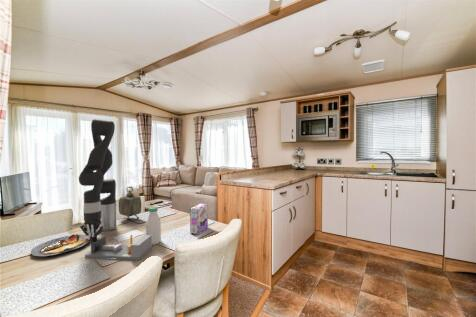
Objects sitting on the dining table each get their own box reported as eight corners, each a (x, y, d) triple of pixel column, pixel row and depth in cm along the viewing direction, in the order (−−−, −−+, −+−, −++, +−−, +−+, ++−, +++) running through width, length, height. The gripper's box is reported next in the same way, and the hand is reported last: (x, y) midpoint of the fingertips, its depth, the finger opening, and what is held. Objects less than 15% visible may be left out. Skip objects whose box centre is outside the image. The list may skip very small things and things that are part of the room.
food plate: (84, 234, 132) (83, 228, 131) (97, 245, 117) (96, 239, 117) (28, 250, 112) (27, 243, 112) (35, 265, 98) (34, 258, 97)
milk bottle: (163, 240, 123) (163, 206, 122) (154, 246, 116) (154, 210, 115) (153, 238, 126) (152, 205, 125) (143, 244, 118) (142, 209, 118)
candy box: (198, 235, 131) (197, 209, 130) (189, 233, 133) (189, 208, 132) (208, 227, 144) (208, 203, 144) (200, 226, 146) (200, 202, 145)
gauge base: (85, 257, 104) (84, 242, 103) (103, 246, 115) (102, 233, 115) (138, 260, 101) (138, 245, 100) (151, 249, 113) (151, 235, 112)
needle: (127, 252, 105) (127, 236, 105) (133, 248, 110) (133, 232, 110) (129, 252, 105) (129, 236, 104) (135, 248, 110) (135, 233, 109)
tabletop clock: (141, 218, 162) (141, 186, 161) (131, 222, 153) (130, 188, 152) (128, 216, 168) (127, 185, 167) (118, 219, 159) (117, 187, 158)
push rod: (91, 252, 105) (90, 242, 105) (102, 245, 113) (102, 235, 113) (113, 253, 104) (113, 243, 104) (123, 246, 112) (123, 236, 112)
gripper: (109, 208, 112) (110, 240, 113) (86, 208, 113) (87, 239, 114) (99, 212, 105) (100, 247, 105) (74, 212, 106) (75, 245, 106)
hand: (93, 243), depth 110 cm, fingers closed
